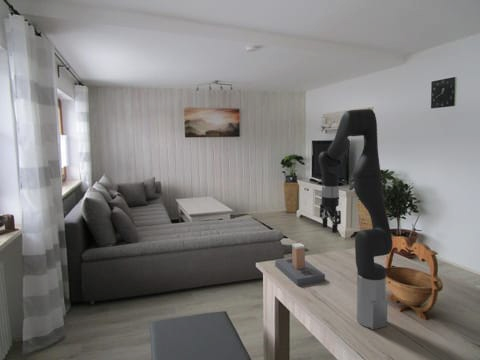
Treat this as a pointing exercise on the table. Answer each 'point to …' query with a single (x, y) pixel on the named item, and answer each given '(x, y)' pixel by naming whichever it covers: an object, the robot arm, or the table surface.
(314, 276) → the grey flat rectangular block
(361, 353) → the table surface
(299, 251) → the plug
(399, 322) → the table surface
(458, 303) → the table surface
